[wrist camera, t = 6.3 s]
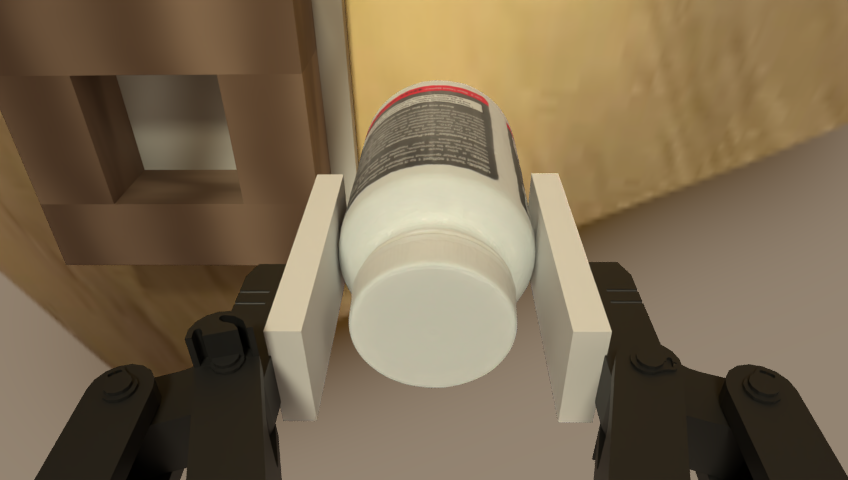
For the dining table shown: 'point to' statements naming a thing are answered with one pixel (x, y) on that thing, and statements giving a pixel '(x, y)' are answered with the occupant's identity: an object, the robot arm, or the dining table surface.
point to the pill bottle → (436, 237)
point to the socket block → (177, 123)
